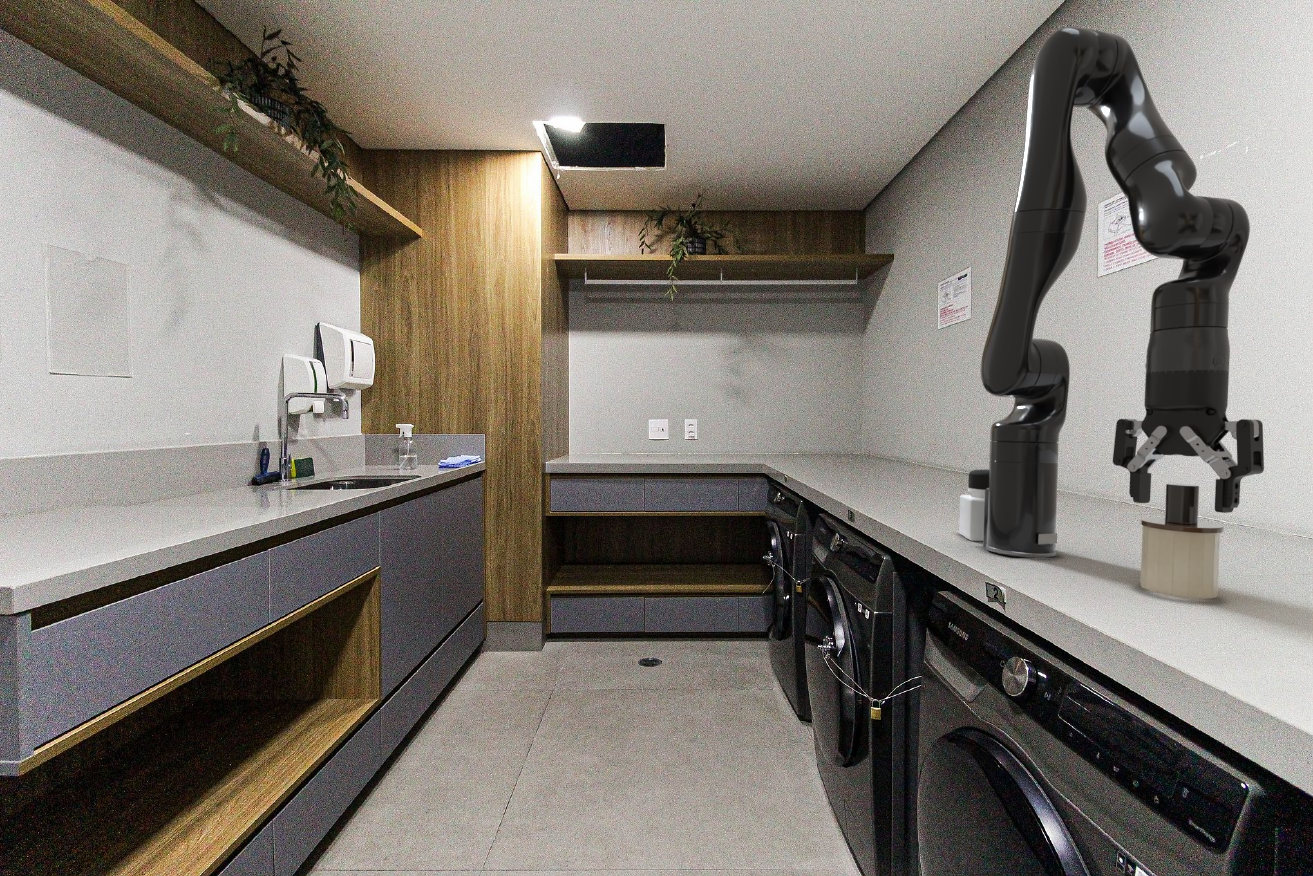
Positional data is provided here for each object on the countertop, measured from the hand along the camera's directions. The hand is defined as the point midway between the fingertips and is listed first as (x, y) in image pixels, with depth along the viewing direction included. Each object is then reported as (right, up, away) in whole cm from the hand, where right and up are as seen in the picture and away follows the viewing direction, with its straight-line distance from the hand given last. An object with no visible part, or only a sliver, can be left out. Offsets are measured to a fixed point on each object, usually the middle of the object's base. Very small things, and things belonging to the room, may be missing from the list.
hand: (1180, 507), depth 75 cm
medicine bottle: (-4, -10, +36) cm, 38 cm away
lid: (0, -2, 0) cm, 2 cm away
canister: (0, -10, 0) cm, 10 cm away
